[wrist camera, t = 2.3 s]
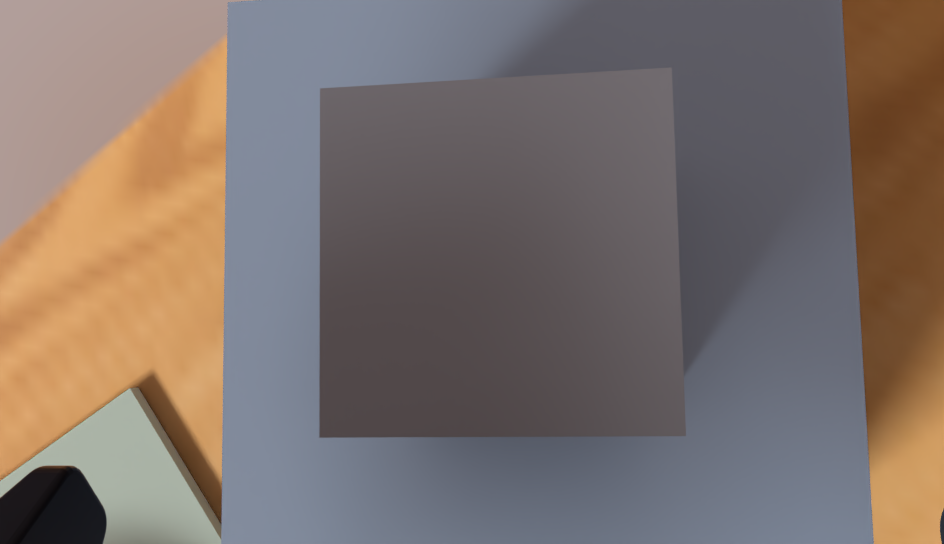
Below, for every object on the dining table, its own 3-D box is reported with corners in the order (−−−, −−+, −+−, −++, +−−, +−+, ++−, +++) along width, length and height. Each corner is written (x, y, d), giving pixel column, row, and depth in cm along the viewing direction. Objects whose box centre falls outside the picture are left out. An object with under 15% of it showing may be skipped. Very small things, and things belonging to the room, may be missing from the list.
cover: (791, 539, 19) (1012, 746, 9) (331, 534, 20) (61, 707, 10) (768, 77, 20) (943, -218, 10) (331, 101, 21) (86, -134, 11)
